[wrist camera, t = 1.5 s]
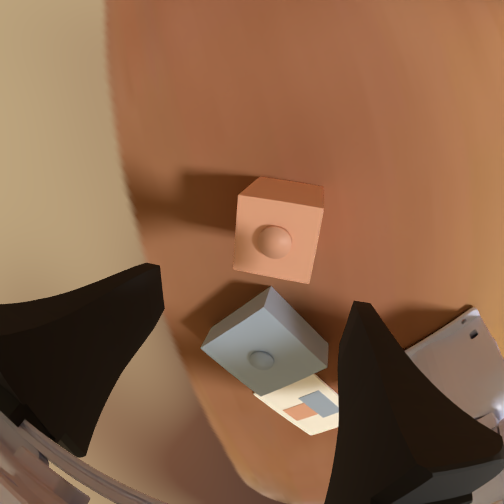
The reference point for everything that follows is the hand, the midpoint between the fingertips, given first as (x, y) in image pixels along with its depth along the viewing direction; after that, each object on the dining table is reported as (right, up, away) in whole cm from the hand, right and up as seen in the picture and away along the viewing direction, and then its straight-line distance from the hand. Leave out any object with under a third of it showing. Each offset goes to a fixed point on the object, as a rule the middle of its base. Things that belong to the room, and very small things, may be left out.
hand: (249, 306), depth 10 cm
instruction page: (+6, -14, +16) cm, 22 cm away
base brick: (+2, -5, +13) cm, 14 cm away
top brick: (+2, +5, +8) cm, 10 cm away
